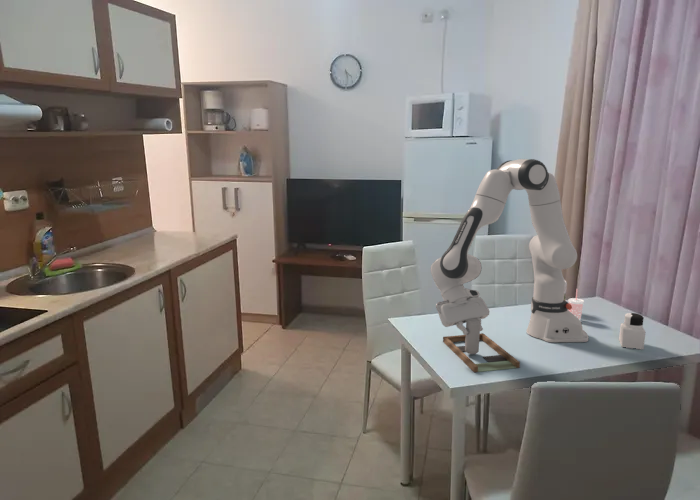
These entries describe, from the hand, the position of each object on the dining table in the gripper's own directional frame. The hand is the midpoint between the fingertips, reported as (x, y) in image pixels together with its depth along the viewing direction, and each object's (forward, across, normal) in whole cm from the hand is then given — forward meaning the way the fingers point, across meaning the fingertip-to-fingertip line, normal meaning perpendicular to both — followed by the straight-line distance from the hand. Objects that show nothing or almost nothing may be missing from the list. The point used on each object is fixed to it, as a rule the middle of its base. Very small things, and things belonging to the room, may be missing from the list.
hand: (474, 332), depth 180 cm
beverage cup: (+2, +62, +10) cm, 63 cm away
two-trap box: (+7, +3, +6) cm, 9 cm away
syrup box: (-6, +66, +19) cm, 69 cm away
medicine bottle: (+22, +57, -10) cm, 62 cm away
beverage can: (+5, 0, +6) cm, 8 cm away
